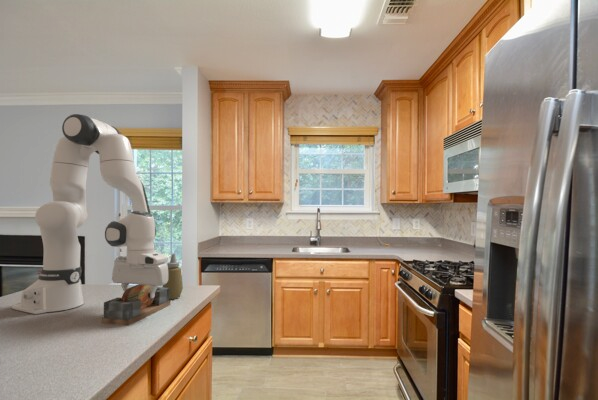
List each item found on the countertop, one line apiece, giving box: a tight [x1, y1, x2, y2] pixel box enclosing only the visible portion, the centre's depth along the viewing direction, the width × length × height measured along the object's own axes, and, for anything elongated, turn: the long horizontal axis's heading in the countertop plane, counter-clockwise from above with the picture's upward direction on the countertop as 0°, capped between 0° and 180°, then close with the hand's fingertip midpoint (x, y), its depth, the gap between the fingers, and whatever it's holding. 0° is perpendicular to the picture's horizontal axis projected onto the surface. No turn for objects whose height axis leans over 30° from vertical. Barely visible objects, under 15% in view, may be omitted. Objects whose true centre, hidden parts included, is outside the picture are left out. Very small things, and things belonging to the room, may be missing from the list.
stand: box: [100, 286, 171, 326], centre depth 110 cm, size 10×22×6 cm, turn 169°
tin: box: [121, 284, 155, 309], centre depth 111 cm, size 15×3×8 cm, turn 169°
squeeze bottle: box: [162, 253, 184, 300], centre depth 130 cm, size 8×8×18 cm
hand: (139, 296), depth 111 cm, fingers open, 8 cm apart
